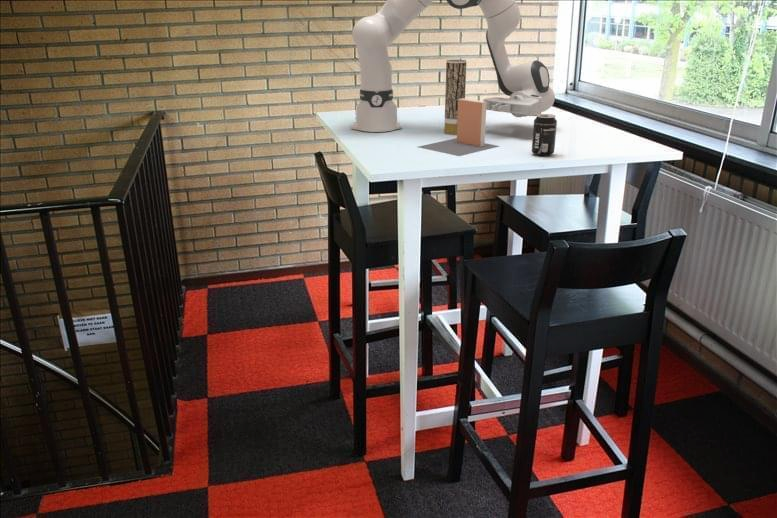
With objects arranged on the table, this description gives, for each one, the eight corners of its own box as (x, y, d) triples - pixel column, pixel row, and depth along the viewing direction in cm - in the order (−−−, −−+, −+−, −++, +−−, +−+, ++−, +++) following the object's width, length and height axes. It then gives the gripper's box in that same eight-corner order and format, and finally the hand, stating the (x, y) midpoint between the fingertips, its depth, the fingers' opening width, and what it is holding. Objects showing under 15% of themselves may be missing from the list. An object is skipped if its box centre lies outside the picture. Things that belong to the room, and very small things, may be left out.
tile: (460, 140, 220) (462, 98, 215) (484, 145, 214) (486, 101, 208) (456, 141, 219) (457, 99, 214) (479, 146, 212) (482, 102, 207)
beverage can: (531, 151, 207) (534, 113, 203) (553, 152, 206) (557, 113, 201) (531, 156, 201) (534, 117, 196) (554, 157, 200) (557, 117, 195)
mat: (457, 139, 225) (457, 137, 225) (499, 147, 213) (500, 146, 213) (416, 148, 212) (416, 146, 212) (459, 157, 200) (459, 156, 200)
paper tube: (441, 135, 231) (443, 61, 222) (447, 131, 237) (449, 59, 228) (460, 136, 229) (463, 61, 220) (465, 132, 235) (468, 59, 225)
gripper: (497, 92, 235) (472, 96, 226) (546, 97, 221) (521, 102, 212) (496, 109, 237) (471, 114, 228) (544, 116, 223) (520, 121, 214)
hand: (496, 108), depth 220 cm, fingers closed
